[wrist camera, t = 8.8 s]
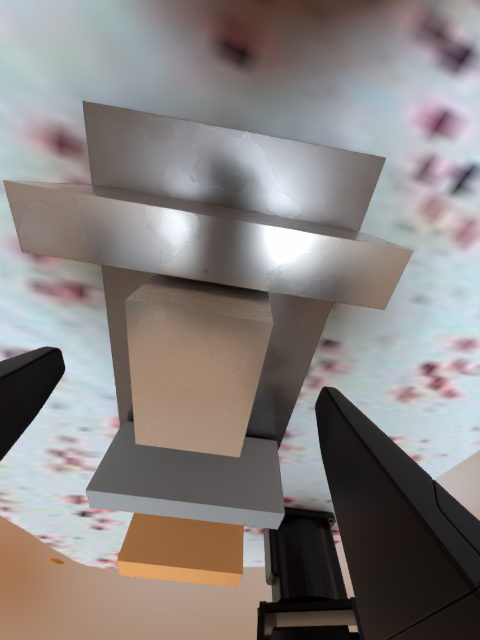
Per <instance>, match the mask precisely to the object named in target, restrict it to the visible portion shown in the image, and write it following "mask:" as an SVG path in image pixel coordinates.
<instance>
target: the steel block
mask: <svg viewBox="0 0 480 640" xmlns="http://www.w3.org/2000/svg"><path fill="white" fill-rule="evenodd" d="M125 310H126V323H127V336H128V349H129V363H130V376H131V389H132V403H133V416H134V429H135V443H136V444H140V445H148V446H155V447H163V448H171V449H178V450H186V451H194V452H201V453H209V454H217V455H225V456H232V457H240V454H241V450H242V446H243V442H244V438H245V434H246V430H247V426H248V422H249V418H250V414H251V410H252V406H253V402H254V398H255V394H256V391H257V387H258V383H259V379H260V375H261V371H262V367H263V363H264V359H265V355H266V351H267V347H268V343H269V339H270V335H271V331H272V327H273V324H274V323H273V318H272V313H271V307H270V302H269V296H268V291H263V290H257V289H250V288H244V287H238V286H232V285H225V284H219V283H213V282H207V281H200V280H194V279H188V278H182V277H175V276H169V275H163V274H157V273H156V274H155V275H154V276H153V277H151V278H150V279H149V280H148V281H147V282H146V283H144V284H143V285H142V286H141V287H140V288H139V289H138V290H136V291H135V292H134V293H133V294H132V295H131V296H129V297H128V298H127V299H126V300H125Z"/></svg>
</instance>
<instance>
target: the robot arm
mask: <svg viewBox="0 0 480 640" xmlns="http://www.w3.org/2000/svg"><path fill="white" fill-rule="evenodd" d="M64 372H65V364H64V360H63V356H62V352H61V350H60V349H59V348H55V347H47V346H46V347H42V348H39V349H36V350H33V351H30V352H27V353H24V354H21V355H18V356H15V357H12V358H9V359H6V360H3V361H0V461H1V460H2V459H3V458H4V456H5V455H6V454H7V452H8V451H9V450H10V449H11V447H12V446H13V445H14V444H15V442H16V441H17V440H18V439H19V437H20V436H21V435H22V434H23V432H24V431H25V430H26V429H27V427H28V426H29V425H30V423H31V422H32V421H33V420H34V418H35V417H36V416H37V414H38V413H39V411H40V410H41V408H42V407H43V405H44V404H45V402H46V401H47V399H48V398H49V396H50V395H51V393H52V391H53V390H54V388H55V387H56V385H57V384H58V382H59V381H60V379H61V378H62V376H63V374H64ZM315 411H316V419H317V427H318V435H319V443H320V450H321V455H322V460H323V464H324V468H325V473H326V477H327V481H328V485H329V489H330V494H331V498H332V502H333V506H334V511H335V515H336V519H337V523H338V527H339V532H340V536H341V540H342V544H343V548H344V553H345V557H346V561H347V565H348V569H349V574H350V578H351V582H352V586H353V591H354V595H355V597H351V598H350V599H348V597H347V593H346V588H345V584H344V581H343V576H342V572H341V568H340V564H339V560H338V556H337V551H336V548H335V543H334V539H333V535H332V531H331V528H332V526H333V525H334V523H335V522H336V519H335V516H334V515H332V514H325V513H317V512H309V511H300V510H292V509H284V510H285V515H284V517H283V519H282V521H281V523H280V525H279V527H278V529H270V528H266V530H265V532H264V548H265V571H266V583H267V584H268V585H272V600H273V602H269V603H267V602H266V601H260V606H259V608H258V609H257V610H258V625H257V640H480V521H479V520H478V519H477V518H476V517H475V516H474V515H472V514H471V513H470V512H469V511H468V510H467V509H466V508H465V507H464V506H462V505H461V504H460V503H459V502H458V501H457V500H456V499H455V498H453V496H451V495H450V494H449V493H448V492H447V491H446V490H445V489H444V488H443V487H442V486H441V485H440V484H439V483H437V482H436V481H435V480H432V477H431V476H430V475H429V474H428V473H427V472H426V471H424V470H423V469H422V468H421V467H420V466H419V465H418V464H417V463H416V462H415V461H414V460H413V459H412V458H410V457H409V456H408V455H407V454H406V453H405V452H404V451H403V450H402V449H401V448H400V447H399V446H398V445H396V444H395V443H394V442H393V441H392V440H391V439H390V438H389V437H388V436H387V435H386V434H385V433H384V432H383V431H381V430H380V429H379V428H378V427H377V426H376V425H375V424H374V423H373V422H372V421H371V420H370V419H369V418H367V417H366V416H365V415H364V414H363V413H362V412H361V411H360V410H359V409H358V408H357V407H356V406H355V405H354V404H352V403H351V402H350V401H349V400H348V399H347V398H346V397H345V396H344V395H343V394H342V393H341V392H340V391H338V390H337V389H336V388H333V387H327V386H325V387H323V388H322V390H321V392H320V394H319V397H318V399H317V401H316V405H315ZM353 625H357V629H358V632H349V628H348V626H353Z"/></svg>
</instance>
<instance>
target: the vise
mask: <svg viewBox="0 0 480 640" xmlns="http://www.w3.org/2000/svg"><path fill="white" fill-rule="evenodd" d="M83 109H84V118H85V127H86V135H87V144H88V152H89V161H90V170H91V178H92V185H86V184H66V183H47V182H27V181H8V180H3V182H4V186H5V190H6V193H7V197H8V201H9V205H10V208H11V212H12V216H13V220H14V223H15V227H16V231H17V235H18V238H19V242H20V246H21V250H22V252H26V253H32V254H38V255H44V256H51V257H57V258H63V259H69V260H76V261H82V262H88V263H94V264H101V265H102V273H103V282H104V290H105V299H106V307H107V316H108V325H109V333H110V342H111V351H112V359H113V368H114V376H115V385H116V394H117V402H118V411H119V419H120V427H121V425H122V423H123V421H130V422H134V416H133V403H132V389H131V376H130V363H129V349H128V336H127V323H126V310H125V300H126V299H127V298H128V297H129V296H131V295H132V294H133V293H134V292H135V291H136V290H138V289H139V288H140V287H141V286H142V285H143V284H144V283H146V282H147V281H148V280H149V279H150V278H151V277H153V276H154V275H155V274H156V273H157V274H163V275H169V276H175V277H182V278H188V279H194V280H200V281H207V282H213V283H219V284H225V285H232V286H238V287H244V288H250V289H257V290H263V291H268V296H269V302H270V307H271V313H272V318H273V323H274V324H273V327H272V331H271V335H270V339H269V343H268V347H267V351H266V355H265V359H264V363H263V367H262V371H261V375H260V379H259V383H258V387H257V391H256V394H255V398H254V402H253V406H252V410H251V414H250V418H249V422H248V426H247V430H246V434H245V437H250V438H258V439H265V440H273V441H277V447H278V450H279V447H280V444H281V441H282V439H283V436H284V433H285V431H286V428H287V425H288V422H289V420H290V417H291V414H292V412H293V409H294V406H295V403H296V401H297V398H298V395H299V393H300V390H301V387H302V384H303V382H304V379H305V376H306V374H307V371H308V368H309V366H310V363H311V360H312V357H313V355H314V352H315V349H316V347H317V344H318V341H319V338H320V336H321V333H322V330H323V328H324V325H325V322H326V319H327V317H328V314H329V311H330V309H331V306H332V303H333V302H338V303H344V304H350V305H357V306H363V307H369V308H375V309H382V310H385V308H386V306H387V304H388V302H389V300H390V298H391V296H392V293H393V291H394V289H395V287H396V285H397V283H398V281H399V279H400V277H401V275H402V273H403V271H404V269H405V267H406V265H407V263H408V261H409V259H410V257H411V254H412V252H413V251H412V250H410V249H407V248H404V247H401V246H398V245H395V244H393V243H390V242H387V241H384V240H381V239H378V238H376V237H373V236H370V235H367V234H364V233H361V232H359V230H360V227H361V225H362V222H363V219H364V216H365V214H366V211H367V208H368V206H369V203H370V200H371V197H372V195H373V192H374V189H375V187H376V184H377V181H378V178H379V176H380V173H381V170H382V168H383V165H384V162H385V159H386V158H384V157H379V156H373V155H368V154H363V153H357V152H352V151H347V150H341V149H336V148H331V147H325V146H320V145H315V144H310V143H304V142H299V141H294V140H288V139H283V138H278V137H272V136H267V135H262V134H256V133H251V132H246V131H240V130H235V129H230V128H224V127H219V126H214V125H208V124H203V123H198V122H193V121H187V120H182V119H177V118H171V117H166V116H161V115H155V114H150V113H145V112H139V111H134V110H129V109H123V108H118V107H113V106H107V105H102V104H97V103H92V102H86V101H83Z"/></svg>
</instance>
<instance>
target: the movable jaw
mask: <svg viewBox="0 0 480 640" xmlns="http://www.w3.org/2000/svg"><path fill="white" fill-rule="evenodd" d="M86 494H87V497H88V501H89V505H90V507H91V508H100V509H108V510H117V511H125V512H134V515H133V517H132V520H131V523H130V526H129V529H128V531H127V534H126V537H125V540H124V542H123V545H122V548H121V551H120V554H119V556H118V559H117V564H118V568H119V573H120V575H123V576H133V577H143V578H152V579H161V580H170V581H180V582H190V583H199V584H208V585H217V586H226V587H236V588H237V587H238V584H239V582H240V580H241V577H242V575H243V527H244V526H253V527H261V528H270V529H278V527H279V525H280V523H281V521H282V519H283V517H284V515H285V510H284V501H283V492H282V483H281V474H280V465H279V456H278V447H277V441H273V440H265V439H258V438H250V437H245V438H244V442H243V446H242V450H241V454H240V457H232V456H225V455H217V454H209V453H201V452H194V451H186V450H178V449H171V448H163V447H155V446H148V445H140V444H136V443H135V429H134V422H130V421H123V423H122V425H121V427H120V429H119V430H118V432H117V434H116V436H115V438H114V439H113V441H112V443H111V445H110V447H109V449H108V450H107V452H106V454H105V456H104V458H103V459H102V461H101V463H100V465H99V467H98V469H97V470H96V472H95V474H94V476H93V478H92V479H91V481H90V483H89V485H88V487H87V488H86Z"/></svg>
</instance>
